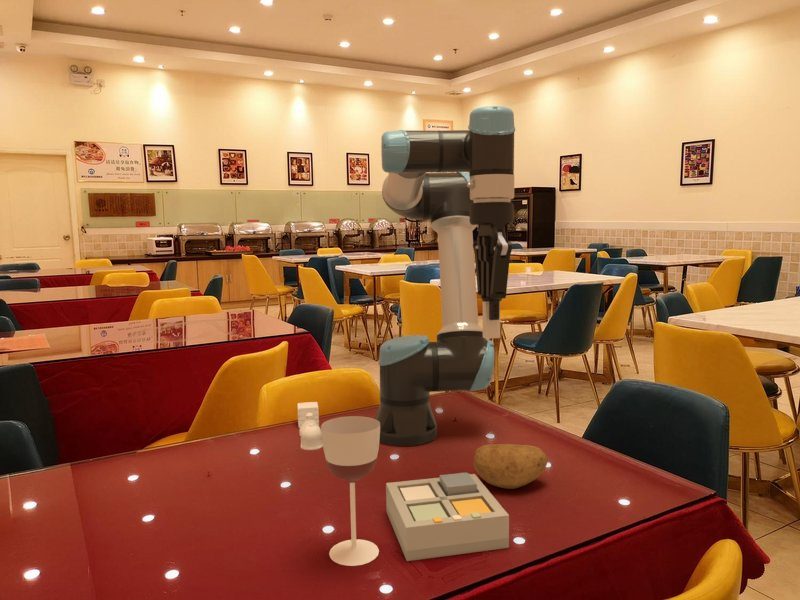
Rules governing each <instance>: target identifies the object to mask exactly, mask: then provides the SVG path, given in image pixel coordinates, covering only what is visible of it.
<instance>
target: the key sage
mask: <svg viewBox="0 0 800 600" xmlns="http://www.w3.org/2000/svg"><path fill="white" fill-rule="evenodd" d="M409 512H410V514H411V516H412V518H413V520H414V521H421V520H430V519H433V518H436V517H441V518H447V517H448V516H447V515H446V513H445V512H444V510H443V508H442V507H441V505H440V503H436V504H427V505H418V506H410V507H409Z"/></svg>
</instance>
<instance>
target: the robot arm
mask: <svg viewBox="0 0 800 600" xmlns="http://www.w3.org/2000/svg"><path fill="white" fill-rule="evenodd" d="M514 114H515V113H514V112H513V109H511V108H509V107H507V106H500V105H498V106H497V105H496V106H495V105H494V106H493V105H491V106H482V107H476V108H474V109H472V111H470V113H469V121H468V122H469V123H468V126H467V128H468V129H465V130H461V129H458V130H453V129H451V130H404V129H399V130H390V131H384V132H383V134H382V135H381V145H380V148H381V152H380V153H381V167H382V171H384V172H385V173H388V174H387V176H386V177H385V178H384V180H383V183H382V189H381V196H382V199H383V202H384V203H385V205H386V206H387V207H388V208H389V209H390V210H391V212H393V213H395V214H397V215H398V216H401V217H404V218H406V219H409V220H413V221H414V220H415V221H430V227H431V229H432V230H433V231H434V232H435V233H437V244H438V261H439V263H438V265H439V266H438V267H439V280H440V281H439V283H440V301H441V302H440V303H441V321H442V322H441V323H442V325H441V326H442V327H441V329H440V330H439V331H438V332H437V333H436V341H430V339H429V337H428V336H427V335H424V334H418V335H417V334H412V335H411V334H410V335H403V336H398V337H394V338H390V339H389V340H386V341H384V342H383V343H382V344H381V345H380V347H379V355H378V357H379V358H378V359H379V360H378V366H379V408H378V409H377V414H376V416H375V419H376V420H378V421H379V422H380V440H379V443H381V444H385V445H389V446H398V447H413V446H419V445H423V444H427V443H430V442H432V441H434V440H435V439H436V438H437V437H438V424H437V421H436V418H435V415H434V412H433V410H432V406H431V403H430V402H431V401H430V392H433V393H435V392H462V391H463V392H466V391H467V392H472V391H479V390H480V391H481V390H485V389H486V388H488V387H489V385H490V384H491V381H492V378H493V374H494V368H495V356H496V355H495V346H494V342H493V340H490V339H501V301H503V299H506V298H507V290H508V279H509V269H510V268H509V267H510V259H511V254H512V251H513V243H512V242H507V236H506V234H507V233H506V229H505V228H506V227H505V225H512V224H513V223H514V220H515V219H514V218H515V212H514V211H515V204H513V203H514V202H512V200H514V198H515V174H514V172H515V132H516V127H515V117H514ZM477 226H478V227H479V228H478V235H477V238H476V241H474V238H473V237H474V236H473V235H474V233H473V231H474V230H475V229H476V228H477ZM477 296H480V298H481V300H482V328H481V326H480V325H479V313H478V312H479V311H478V298H477Z"/></svg>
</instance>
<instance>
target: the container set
mask: <svg viewBox="0 0 800 600" xmlns="http://www.w3.org/2000/svg"><path fill="white" fill-rule="evenodd" d="M318 404H319V403H318V401H310V402H309V401H308V402H306V401H305V402H298V403H297V405H296V406H297V424H298V425H297V426H298V428H299V431H298V432H299V433H298V434H299V437H300V436H301V437H300V445H299V448H300V449H301V450H305V451H314V450H319V449H321V448H323V442H322V433H321V426H320V416H319V405H318Z"/></svg>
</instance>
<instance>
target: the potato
mask: <svg viewBox="0 0 800 600" xmlns="http://www.w3.org/2000/svg"><path fill="white" fill-rule="evenodd" d="M548 459H549V458H548V456H547V455H546V453H545V452H544V451H543V450H542V449H541V448H540V447H538V446H534V445H529V444H517V443H516V444H513V443H501V444H498V443H497V444H484V445H482V446H479V447H478V448H477V449H476V450H475V453H474V456H473V468H474V469H475V470H476V472H477V474H478V476H480V477H481V478H482V479H483V480H484V481H485V482H486V483H488V484H490V485H491V486H494V487H497V488H502V489H512V490H514V489H518V488H521V487H524V486H526V485H529V484H530V483H533V482H534V481H535V480H536V479H538V478H539V477H540V476H541V475H542V474H543V473H544V472H545V470H546V467H547V465H548V462H549V460H548Z"/></svg>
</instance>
